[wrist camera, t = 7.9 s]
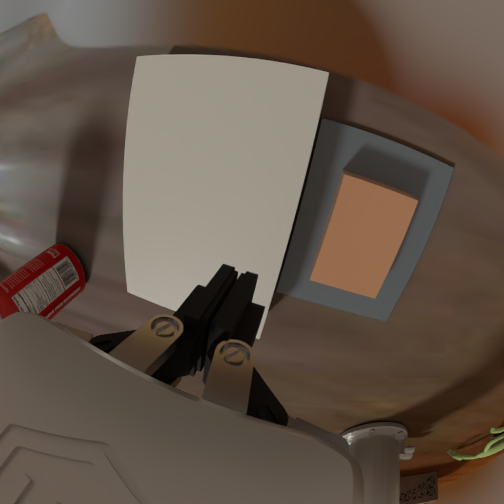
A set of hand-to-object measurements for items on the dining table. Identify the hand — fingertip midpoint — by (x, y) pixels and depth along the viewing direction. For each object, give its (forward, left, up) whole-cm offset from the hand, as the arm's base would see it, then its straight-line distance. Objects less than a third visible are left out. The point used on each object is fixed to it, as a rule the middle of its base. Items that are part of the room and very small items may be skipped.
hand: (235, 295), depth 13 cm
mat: (-8, -1, -12) cm, 14 cm away
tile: (-7, -1, -10) cm, 12 cm away
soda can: (+26, +14, -12) cm, 32 cm away
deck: (+5, -1, -12) cm, 13 cm away
